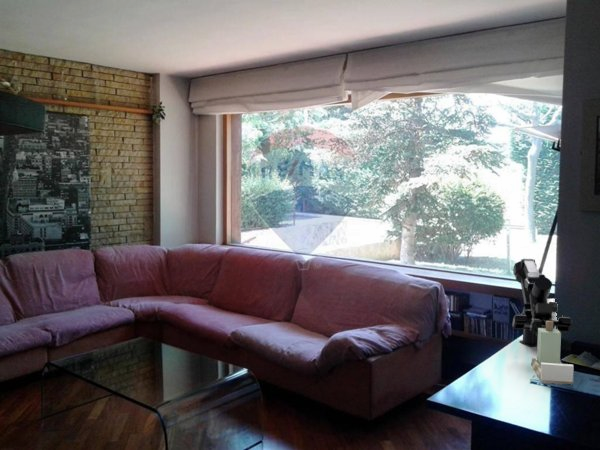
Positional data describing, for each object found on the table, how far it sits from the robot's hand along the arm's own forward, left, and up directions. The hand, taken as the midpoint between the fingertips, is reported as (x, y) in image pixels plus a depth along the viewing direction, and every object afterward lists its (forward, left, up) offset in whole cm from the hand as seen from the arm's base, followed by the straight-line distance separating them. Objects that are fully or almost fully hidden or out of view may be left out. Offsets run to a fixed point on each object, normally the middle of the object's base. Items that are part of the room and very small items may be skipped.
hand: (544, 344), depth 184 cm
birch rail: (+9, -5, -7) cm, 12 cm away
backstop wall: (+16, -9, -7) cm, 19 cm away
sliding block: (+5, -3, -5) cm, 8 cm away
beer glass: (-25, +26, -7) cm, 36 cm away
